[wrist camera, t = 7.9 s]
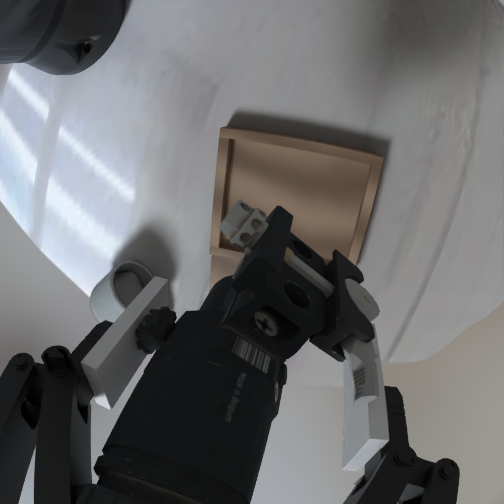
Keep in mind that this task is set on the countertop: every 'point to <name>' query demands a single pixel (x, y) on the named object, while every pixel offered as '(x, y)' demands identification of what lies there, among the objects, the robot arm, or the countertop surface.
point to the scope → (232, 369)
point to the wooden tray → (293, 191)
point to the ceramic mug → (118, 290)
